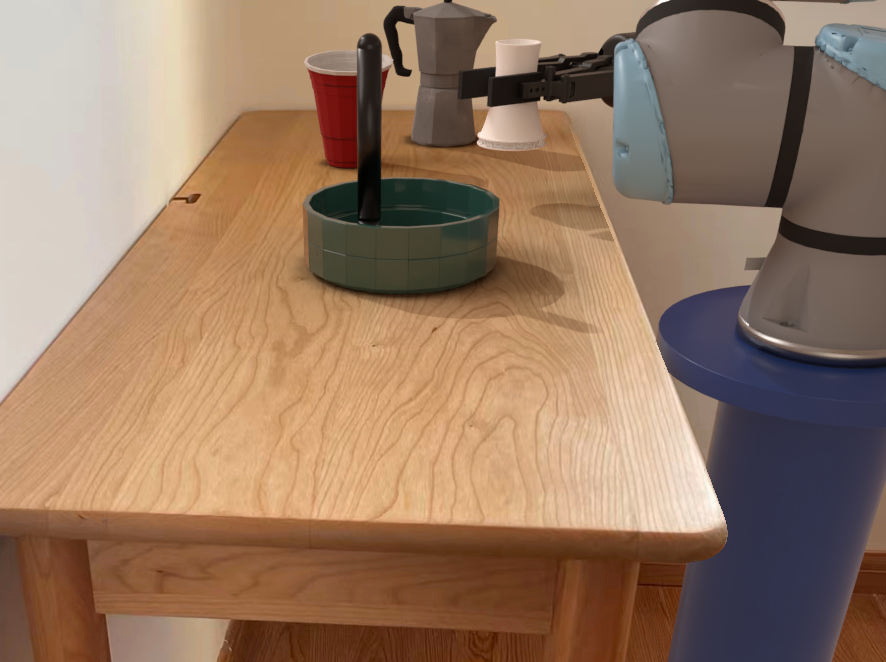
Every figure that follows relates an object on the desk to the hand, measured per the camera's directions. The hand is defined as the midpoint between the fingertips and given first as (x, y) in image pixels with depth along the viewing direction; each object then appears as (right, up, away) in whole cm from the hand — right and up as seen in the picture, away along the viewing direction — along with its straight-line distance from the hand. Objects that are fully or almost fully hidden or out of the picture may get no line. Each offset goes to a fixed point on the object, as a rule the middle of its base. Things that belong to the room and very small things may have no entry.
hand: (475, 88), depth 119 cm
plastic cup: (-13, +3, +24) cm, 28 cm away
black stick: (-11, -22, -11) cm, 27 cm away
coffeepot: (-1, +11, +35) cm, 37 cm away
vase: (+5, -3, +6) cm, 8 cm away
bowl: (-8, -23, -11) cm, 26 cm away
